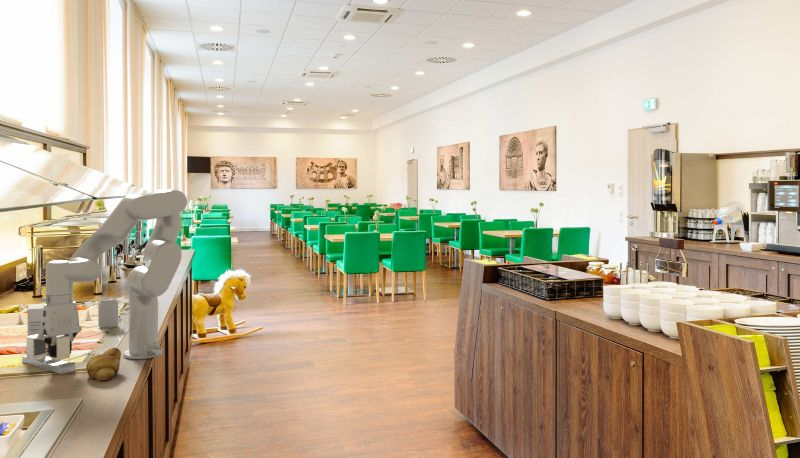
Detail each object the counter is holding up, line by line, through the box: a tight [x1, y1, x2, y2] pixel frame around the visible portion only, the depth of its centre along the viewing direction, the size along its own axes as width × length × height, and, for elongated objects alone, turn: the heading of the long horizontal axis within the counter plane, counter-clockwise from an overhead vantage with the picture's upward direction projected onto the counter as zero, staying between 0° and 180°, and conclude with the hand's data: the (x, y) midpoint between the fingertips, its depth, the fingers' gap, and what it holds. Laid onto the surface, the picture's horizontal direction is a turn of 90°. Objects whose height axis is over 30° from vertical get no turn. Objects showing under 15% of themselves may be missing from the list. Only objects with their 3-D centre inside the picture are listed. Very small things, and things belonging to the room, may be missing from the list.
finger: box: [49, 335, 71, 361], centre depth 188 cm, size 5×4×7 cm
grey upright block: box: [97, 297, 119, 330], centre depth 244 cm, size 8×8×12 cm
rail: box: [22, 334, 76, 375], centre depth 191 cm, size 22×4×9 cm, turn 61°
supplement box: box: [27, 303, 48, 349], centre depth 214 cm, size 9×9×15 cm
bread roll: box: [85, 347, 122, 381], centre depth 183 cm, size 13×10×8 cm
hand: (60, 354), depth 188 cm, fingers closed on finger, 4 cm apart
